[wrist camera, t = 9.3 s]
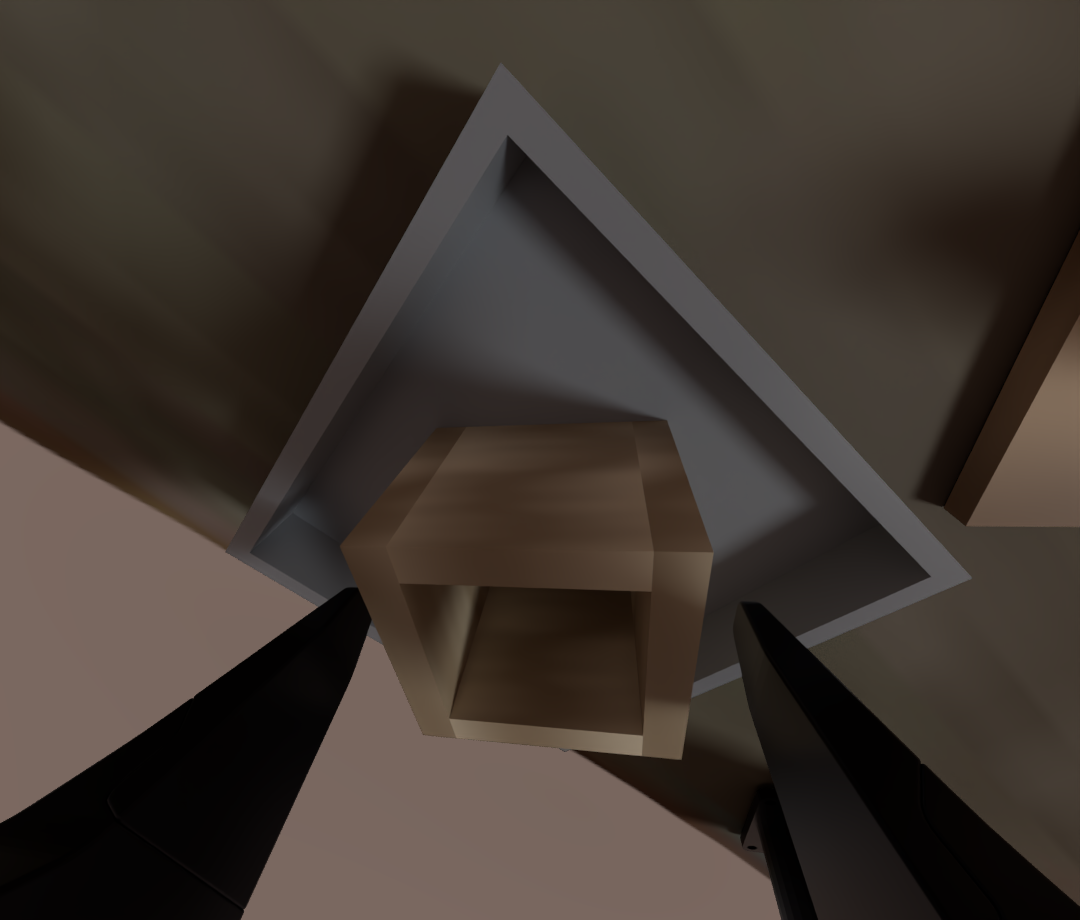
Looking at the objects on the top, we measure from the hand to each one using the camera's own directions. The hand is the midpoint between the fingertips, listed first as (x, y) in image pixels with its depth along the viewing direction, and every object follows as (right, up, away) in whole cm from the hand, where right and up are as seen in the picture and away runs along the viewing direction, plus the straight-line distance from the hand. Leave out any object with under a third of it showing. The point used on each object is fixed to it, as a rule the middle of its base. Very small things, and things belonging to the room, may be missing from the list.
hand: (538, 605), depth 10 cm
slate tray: (+1, +2, +3) cm, 4 cm away
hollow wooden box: (+1, +1, +3) cm, 4 cm away
